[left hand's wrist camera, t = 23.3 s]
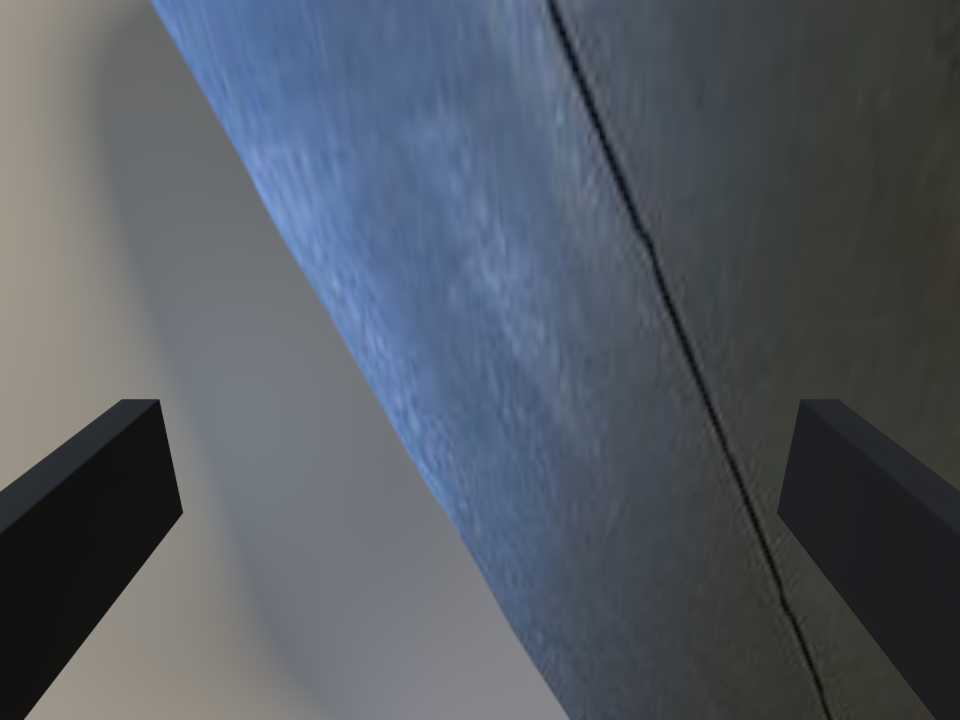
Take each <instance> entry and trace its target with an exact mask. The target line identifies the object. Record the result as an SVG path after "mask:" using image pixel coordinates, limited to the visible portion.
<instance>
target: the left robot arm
mask: <svg viewBox="0 0 960 720" xmlns="http://www.w3.org/2000/svg"><path fill="white" fill-rule="evenodd" d="M182 514H183V510H182V505H181V500H180V496H179V491H178V486H177V481H176V477H175V472H174V467H173V462H172V458H171V453H170V448H169V443H168V439H167V434H166V429H165V424H164V420H163V415H162V410H161V405H160V400H159V399H122V400H120V401H119V402H118V403H117V404H115V405H114V406H112V407H111V408H110V409H109V410H107V411H106V412H105V413H103V414H102V415H101V416H99V417H98V418H97V419H95V420H94V421H93V422H91V423H90V424H89V425H87V426H86V427H85V428H84V429H82V430H81V431H80V432H78V433H77V434H76V435H74V436H73V437H72V438H70V439H69V440H68V441H66V442H65V443H64V444H63V445H61V446H60V447H59V448H57V449H56V450H55V451H53V452H52V453H51V454H49V455H48V456H47V457H45V458H44V459H43V460H41V461H40V462H39V463H38V464H36V465H35V466H34V467H32V468H31V469H30V470H28V471H27V472H26V473H24V474H23V475H22V476H20V477H19V478H18V479H17V480H15V481H14V482H12V483H11V484H10V485H9V486H7V487H6V488H5V489H3V490H2V491H1V492H0V720H24V719H25V717H26V716H27V715H28V714H29V712H30V711H31V710H32V708H33V707H34V706H35V705H36V703H37V702H38V701H39V699H40V698H41V697H42V695H43V694H44V693H45V692H46V690H47V689H48V688H49V686H50V685H51V684H52V682H53V681H54V680H55V679H56V677H57V676H58V675H59V673H60V672H61V671H62V670H63V668H64V667H65V666H66V664H67V663H68V662H69V660H70V659H71V658H72V657H73V655H74V654H75V653H76V651H77V650H78V649H79V647H80V646H81V645H82V644H83V642H84V641H85V640H86V638H87V637H88V636H89V634H90V633H91V632H92V631H93V629H94V628H95V627H96V625H97V624H98V623H99V621H100V620H101V619H102V618H103V616H104V615H105V614H106V612H107V611H108V610H109V608H110V607H111V606H112V604H113V603H114V602H115V601H116V599H117V598H118V597H119V595H120V594H121V593H122V592H123V590H124V589H125V588H126V586H127V585H128V584H129V582H130V581H131V580H132V579H133V577H134V576H135V575H136V573H137V572H138V571H139V569H140V568H141V567H142V566H143V564H144V563H145V562H146V560H147V559H148V558H149V556H150V555H151V554H152V553H153V551H154V550H155V549H156V547H157V546H158V545H159V543H160V542H161V541H162V540H163V538H164V537H165V536H166V534H167V533H168V532H169V530H170V529H171V528H172V527H173V525H174V524H175V523H176V521H177V520H178V519H179V518H180V516H181V515H182ZM777 514H778V515H779V516H780V518H781V519H782V520H783V521H784V523H785V524H786V525H787V527H788V528H789V529H790V531H791V532H792V533H793V534H794V536H795V537H796V538H797V540H798V541H799V542H800V544H801V545H802V546H803V547H804V549H805V550H806V551H807V553H808V554H809V555H810V556H811V558H812V559H813V560H814V562H815V563H816V564H817V566H818V567H819V568H820V569H821V571H822V572H823V573H824V575H825V576H826V577H827V579H828V580H829V581H830V582H831V584H832V585H833V586H834V588H835V589H836V590H837V592H838V593H839V594H840V595H841V597H842V598H843V599H844V601H845V602H846V603H847V605H848V606H849V607H850V608H851V610H852V611H853V612H854V614H855V615H856V616H857V618H858V619H859V620H860V621H861V623H862V624H863V625H864V627H865V628H866V629H867V631H868V632H869V633H870V634H871V636H872V637H873V638H874V640H875V641H876V642H877V644H878V645H879V646H880V647H881V649H882V650H883V651H884V653H885V654H886V655H887V657H888V658H889V659H890V660H891V662H892V663H893V664H894V666H895V667H896V668H897V670H898V671H899V672H900V673H901V675H902V676H903V677H904V679H905V680H906V681H907V683H908V684H909V685H910V686H911V688H912V689H913V690H914V692H915V693H916V694H917V695H918V697H919V698H920V699H921V701H922V702H923V703H924V705H925V706H926V707H927V708H928V710H929V711H930V712H931V714H932V715H933V716H934V718H935V719H936V720H960V492H959V491H958V490H957V489H955V488H954V487H953V486H951V485H950V484H949V483H948V482H946V481H945V480H944V479H942V478H941V477H940V476H938V475H937V474H936V473H934V472H933V471H932V470H930V469H929V468H928V467H926V466H925V465H924V464H923V463H921V462H920V461H919V460H917V459H916V458H915V457H913V456H912V455H911V454H909V453H908V452H907V451H905V450H904V449H903V448H901V447H900V446H899V445H898V444H896V443H895V442H894V441H892V440H891V439H890V438H888V437H887V436H886V435H884V434H883V433H882V432H880V431H879V430H878V429H876V428H875V427H874V426H873V425H871V424H870V423H869V422H867V421H866V420H865V419H863V418H862V417H861V416H859V415H858V414H857V413H855V412H854V411H853V410H851V409H850V408H849V407H848V406H846V405H845V404H844V403H842V402H841V401H840V400H838V399H801V400H800V405H799V410H798V415H797V419H796V424H795V429H794V434H793V439H792V443H791V448H790V453H789V458H788V462H787V467H786V472H785V477H784V481H783V486H782V491H781V496H780V500H779V505H778V510H777Z"/></svg>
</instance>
